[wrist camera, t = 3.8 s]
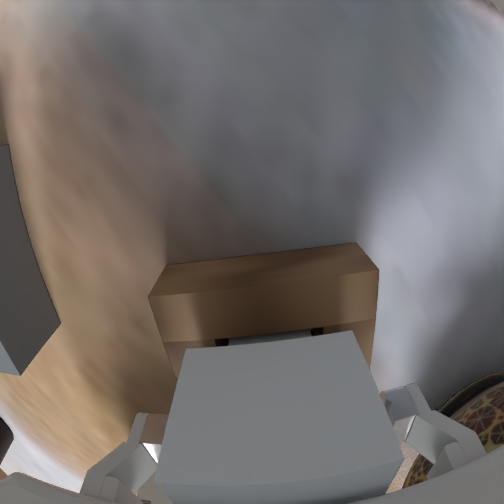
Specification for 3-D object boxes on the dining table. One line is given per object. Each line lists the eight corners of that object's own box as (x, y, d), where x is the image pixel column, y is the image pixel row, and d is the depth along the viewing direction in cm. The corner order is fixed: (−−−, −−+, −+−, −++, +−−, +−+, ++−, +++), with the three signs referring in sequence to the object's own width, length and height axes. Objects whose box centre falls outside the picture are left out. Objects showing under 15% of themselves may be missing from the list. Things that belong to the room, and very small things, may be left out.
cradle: (356, 242, 14) (379, 269, 11) (349, 379, 17) (361, 415, 15) (166, 265, 14) (147, 296, 12) (205, 395, 18) (199, 432, 15)
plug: (326, 275, 15) (404, 458, 5) (326, 366, 17) (365, 523, 8) (202, 289, 15) (153, 481, 6) (224, 377, 17) (210, 538, 8)
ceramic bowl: (536, 360, 22) (617, 408, 8) (456, 479, 24) (512, 545, 9) (423, 292, 18) (611, 387, 4) (298, 480, 20) (350, 627, 5)
